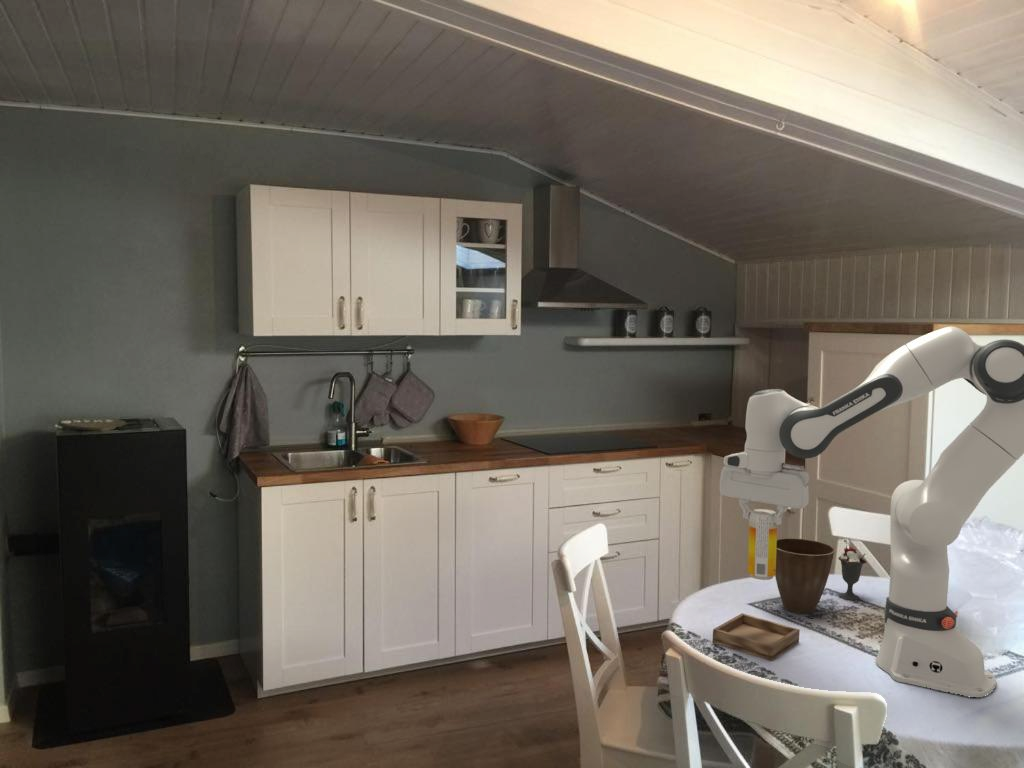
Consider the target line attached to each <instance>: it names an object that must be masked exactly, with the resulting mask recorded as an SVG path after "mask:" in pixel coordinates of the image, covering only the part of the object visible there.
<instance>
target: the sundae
mask: <svg viewBox="0 0 1024 768" xmlns="http://www.w3.org/2000/svg"><path fill="white" fill-rule="evenodd" d="M843 542H844V543H845V544H846V547H845V548H844V549H843V552H842V553H841V555H840V556H839V557H837V559H838V560H839V561H840V565H841V576H842V577H841V578H842V579H843V581H844V582H845V583H846V584H847V590H846V591H845V592H842V593H840V594H839V597H840V598H842V599H844V600H847V601H858V600H860V598H861V597H860V596H859V595H857V594H854V591H853V586H854V585H855V584H856V583H858V582H859V581H860V577H861V572H862V567H863V565H864V564H867V561H866V559H864V557H865V556H866V553H864V554H862V556H861V555H860V554H861V553H860V552H859V551H858V550H857V549H856V548H854V547H853V546H851V545H850V544H849V542H848V541H847V540H845V539H843ZM848 546H849V547H848Z"/></svg>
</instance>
